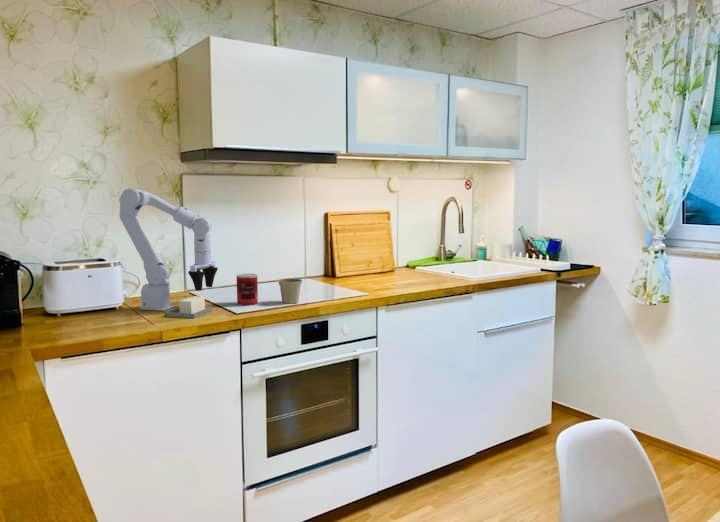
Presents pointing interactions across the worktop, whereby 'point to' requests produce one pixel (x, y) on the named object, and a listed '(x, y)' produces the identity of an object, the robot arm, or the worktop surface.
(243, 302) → the canned food
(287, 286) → the flower pot
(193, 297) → the cream block
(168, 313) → the tray
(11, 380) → the worktop surface
